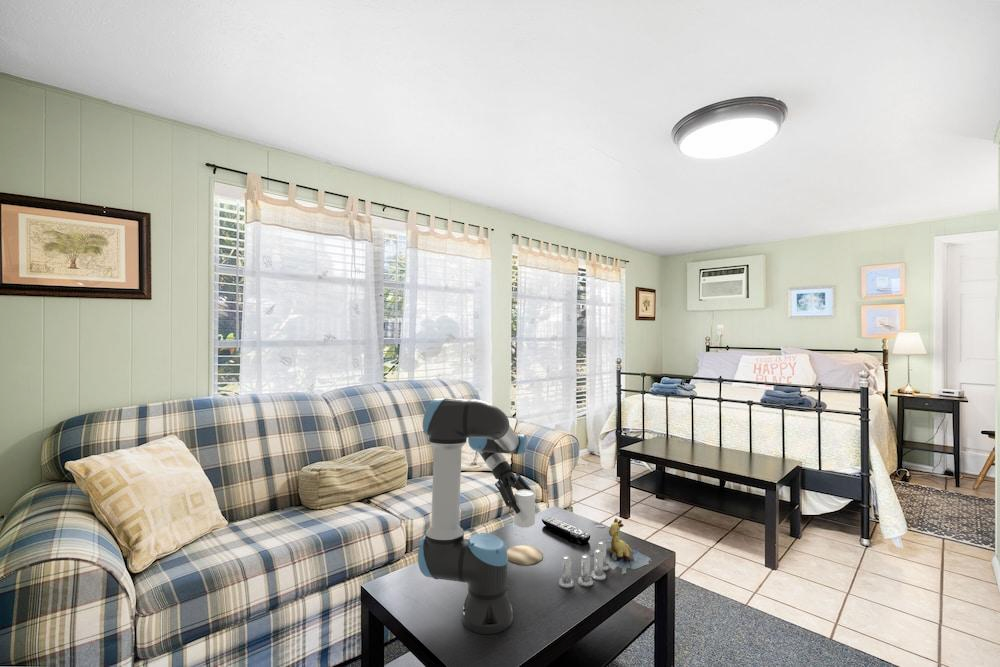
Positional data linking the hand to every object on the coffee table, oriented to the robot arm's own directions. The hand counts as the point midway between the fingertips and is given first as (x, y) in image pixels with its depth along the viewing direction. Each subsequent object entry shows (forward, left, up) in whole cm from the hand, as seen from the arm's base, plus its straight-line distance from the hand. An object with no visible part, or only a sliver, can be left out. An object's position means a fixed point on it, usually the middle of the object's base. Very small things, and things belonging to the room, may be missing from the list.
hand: (531, 516), depth 169 cm
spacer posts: (+2, -22, -16) cm, 28 cm away
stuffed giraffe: (+21, -27, -17) cm, 38 cm away
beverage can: (0, +3, -4) cm, 5 cm away
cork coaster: (0, +3, -16) cm, 16 cm away
